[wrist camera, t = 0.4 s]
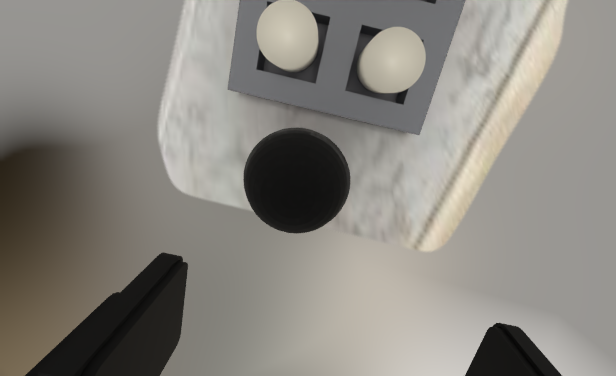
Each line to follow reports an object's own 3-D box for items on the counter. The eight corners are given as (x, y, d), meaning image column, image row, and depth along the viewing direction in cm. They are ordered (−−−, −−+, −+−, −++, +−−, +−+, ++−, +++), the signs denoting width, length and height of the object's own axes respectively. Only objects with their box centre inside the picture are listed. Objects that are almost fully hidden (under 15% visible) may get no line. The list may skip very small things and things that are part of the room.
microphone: (314, 100, 33) (305, 106, 14) (348, 149, 35) (380, 213, 16) (267, 136, 35) (202, 184, 16) (301, 181, 36) (280, 275, 17)
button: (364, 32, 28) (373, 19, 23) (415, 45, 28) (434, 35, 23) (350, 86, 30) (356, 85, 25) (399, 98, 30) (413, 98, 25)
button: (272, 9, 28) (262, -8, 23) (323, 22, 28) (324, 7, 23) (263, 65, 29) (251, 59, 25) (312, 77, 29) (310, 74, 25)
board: (270, -131, 27) (262, -167, 24) (476, -77, 28) (500, -104, 24) (238, 90, 33) (227, 89, 30) (408, 130, 34) (419, 135, 30)
